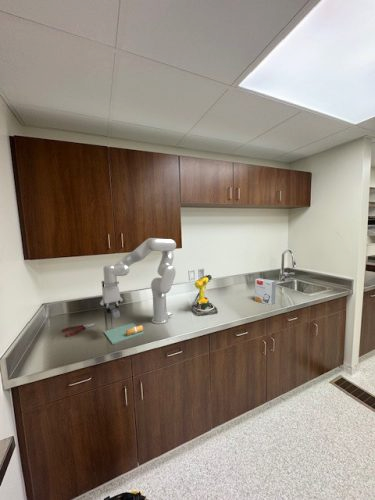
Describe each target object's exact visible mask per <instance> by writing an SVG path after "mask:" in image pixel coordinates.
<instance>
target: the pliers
mask: <svg viewBox="0 0 375 500" xmlns="http://www.w3.org/2000/svg"><path fill="white" fill-rule="evenodd" d="M96 325H97V324H96V323H95V322H92V323H87V324H80V325H75V326H69V327H65V328H63V329H62V330H61V332H62V333H65V332H67V333H65V335H64V336H65V338H68V337H72V336H75V335H77V334H78V333H80V332H82V331H83V330H86V329H88V328H92V327H94V326H96ZM68 331H70V332H68Z"/></svg>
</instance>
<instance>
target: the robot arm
mask: <svg viewBox="0 0 375 500" xmlns="http://www.w3.org/2000/svg"><path fill="white" fill-rule="evenodd" d="M176 248H177V243H176V241H175V240H174V239H171V238H157V237H149V238H147V239H146V240H144V241H143V242H142V243H141V244H140V245H139V246H137V247H136V248H135V249H134V250H132V251H131V252H130V253H128V254H127V255H125V256H123V257H121V259H120V260H118V261H117V262H116V263H115V264H107V265H104V266H103V283H104V287H102V299H101V300H100V302H99V304H100V305H101V306H103V307H105V311H106V313H107V315H110V312H109V306H110V304H111V303H115V304H114V305H115V306H116V307H117V308H118V309H119V305H120V303H121V302H122V301H123V300H124V299H123V298H122V296H121V293H120V289H119V284H120V281H118V279H117V278H118V277H124V276H127V275H128V274H129V273H130V270H131V269H130V266H132V265H133V264H135V263H138V262H141V261H143V260H144V259H146V258H147V256H148V255H149V254H151V253H152V252H153V251H156V252H161V260H160V261H159V265H158V267H157V271H156V272H157V274H158V275H159V276H160V277H154V278H153V279H152V281H151V283H150V288H151V292H152V308H153V309H152V310H153V317H152V318H151V322H152V323H153V324H156V325H157V324H158V325H159V324H160V325H162V324H166V323H168V322H169V321H170V317H171V316H173V312H167V294H168V293H169V292H170V290H171V289H172V286H173V283H174V280H175V277H176V273H177V272H176V268H175V267H174V265H173V262H174V258H175V256H174V251H175V249H176Z"/></svg>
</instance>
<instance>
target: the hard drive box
mask: <svg viewBox="0 0 375 500" xmlns="http://www.w3.org/2000/svg"><path fill="white" fill-rule="evenodd" d="M254 302H257V303H261V304H265V305H269V306H272V305H275V304H276V280H273V279H268V278H267V279H265V278H260V277H258V278H255V279H254Z"/></svg>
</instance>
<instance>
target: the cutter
mask: <svg viewBox="0 0 375 500" xmlns="http://www.w3.org/2000/svg"><path fill="white" fill-rule="evenodd" d="M109 312H110V314H109V315H110V316H111V317H113V319H115V318H120V317H121V315H120V314H121V313H120V310H119V307H118V308H117V307H116V306H115V304H109Z"/></svg>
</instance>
